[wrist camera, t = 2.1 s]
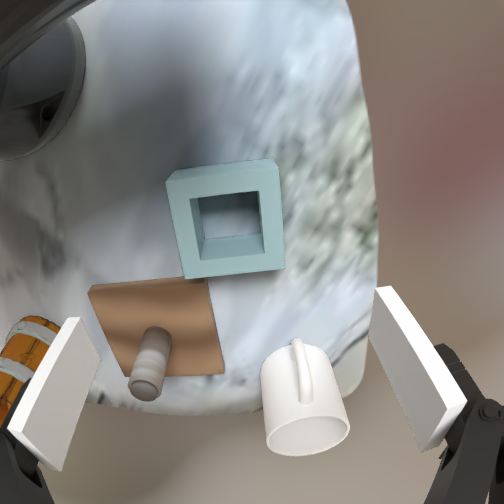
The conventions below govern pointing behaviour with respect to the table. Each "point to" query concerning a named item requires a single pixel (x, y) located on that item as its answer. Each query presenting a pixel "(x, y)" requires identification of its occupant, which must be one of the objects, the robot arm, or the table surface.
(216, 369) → the post block
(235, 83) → the table surface
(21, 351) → the mug
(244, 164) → the ring
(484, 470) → the robot arm
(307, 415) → the cup
